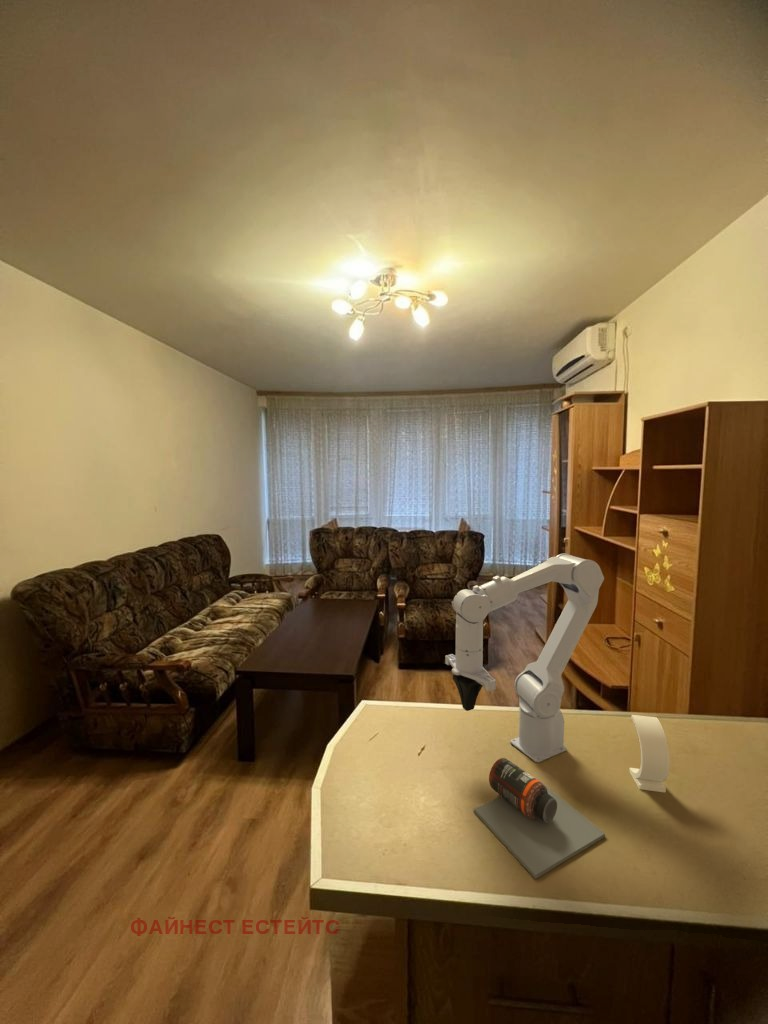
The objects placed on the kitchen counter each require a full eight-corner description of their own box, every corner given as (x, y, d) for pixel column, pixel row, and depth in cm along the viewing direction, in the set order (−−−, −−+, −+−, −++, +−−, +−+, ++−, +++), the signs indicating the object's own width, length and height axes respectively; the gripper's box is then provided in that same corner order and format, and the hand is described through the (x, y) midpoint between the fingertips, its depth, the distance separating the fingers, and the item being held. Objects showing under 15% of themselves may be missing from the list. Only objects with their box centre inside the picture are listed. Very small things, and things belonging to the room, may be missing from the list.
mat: (538, 782, 80) (538, 779, 80) (604, 836, 68) (605, 833, 68) (474, 812, 73) (474, 808, 73) (535, 878, 60) (535, 875, 60)
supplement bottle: (496, 794, 78) (548, 836, 69) (482, 779, 76) (534, 820, 66) (512, 765, 80) (565, 802, 71) (499, 750, 78) (552, 786, 68)
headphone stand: (654, 774, 82) (656, 717, 82) (668, 796, 76) (671, 735, 76) (629, 771, 83) (631, 714, 82) (641, 793, 77) (643, 732, 77)
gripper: (434, 638, 92) (434, 697, 92) (476, 663, 79) (475, 731, 80) (459, 633, 95) (459, 690, 96) (504, 656, 82) (503, 721, 83)
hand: (468, 708), depth 88 cm, fingers closed
